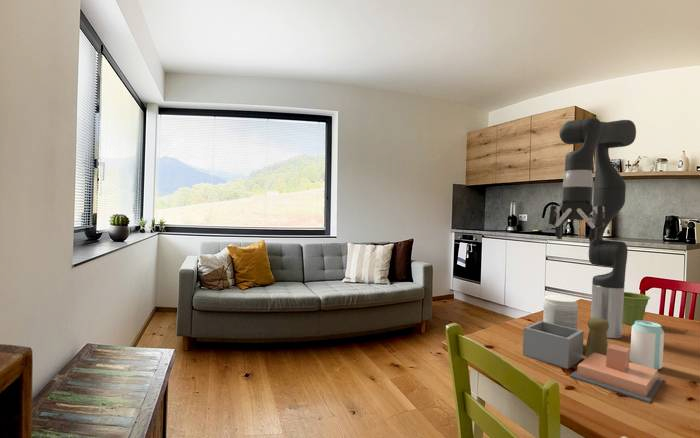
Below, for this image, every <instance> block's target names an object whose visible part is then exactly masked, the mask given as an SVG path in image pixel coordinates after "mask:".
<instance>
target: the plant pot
mask: <svg viewBox="0 0 700 438" xmlns="http://www.w3.org/2000/svg"><path fill="white" fill-rule="evenodd" d="M650 299H651V296H649V295H646V294H643V293H636V292H629V291H624V305H623V323H624V324H623V325H627V324H628V326H632V325H634V324H635V321H638V320H640V321H644V317H645V313H646V312H645V311H646V308H647V305H648V304H649V302H648V301H649V300H650Z"/></svg>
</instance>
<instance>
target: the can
mask: <svg viewBox="0 0 700 438" xmlns="http://www.w3.org/2000/svg"><path fill="white" fill-rule="evenodd" d="M630 336H631V337H630V357H629V362H631V363H635V364H638V365H642V366H646V367H649V368H653V369H657V370H658V371H659V370H660V369H662V368H663V361H664V344H665V341H664V340H665V331H664V329H663V328H662V325H661V324H659V323H657V322H652V321H648V320H643V321H640V320H638V321H635V324H634V325H631V334H630Z"/></svg>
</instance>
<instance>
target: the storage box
mask: <svg viewBox="0 0 700 438" xmlns="http://www.w3.org/2000/svg"><path fill="white" fill-rule="evenodd" d="M584 333H585V332H584V330H582V329H578V328H577V329H574V328H569V327H565V326H561V325H557V324H553V323H548V322H544V321H543V320H539V321H537V322H533V323H532V324H529V325H527V326H525V327H523V337H522V338H523V339H522V356H525V357H528V358H532V359H535V360H538V361H541V362H544V363H548V364H552V365H554V366H557V367H561V368H564V369H566V370H568V369H570V368H571V367H573V366H574V365H575V364H576V363H579V361H581V360H582V359H583V356H584V355H583V354H584V353H583V352H584V337H585V335H584Z"/></svg>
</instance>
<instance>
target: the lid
mask: <svg viewBox="0 0 700 438" xmlns="http://www.w3.org/2000/svg"><path fill="white" fill-rule="evenodd" d="M630 350H631V348H629V347H626V346H625V347H624V346H622V345H617V344H613V343H611V344H608V347H607V355H606V356H605V355H601V354H598V353H593V354H591V355H590V356H587V357H586V358H585V359H583V360H582V361H581V362H580V363H578V364H577V367H576V368H577V369H576V370H577V375H580V376H583V377H586V378H589V379H592V380H595V381H599V382H602V383H605V384H608V385H611V386H614V387H617V388H620V389H624V390H627V391H630V392H633V393H636V394H639V395H642V396H645V397H646V396H647V394H648V393H649V391H650V390H651V388H652V386H653V385H654V383H655V382H656V380H657V377H658V371H659V369H658V370H657V369H653V368H649V367H646V366H642V365H638V364H635V363H632V362H631V361H630Z"/></svg>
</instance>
